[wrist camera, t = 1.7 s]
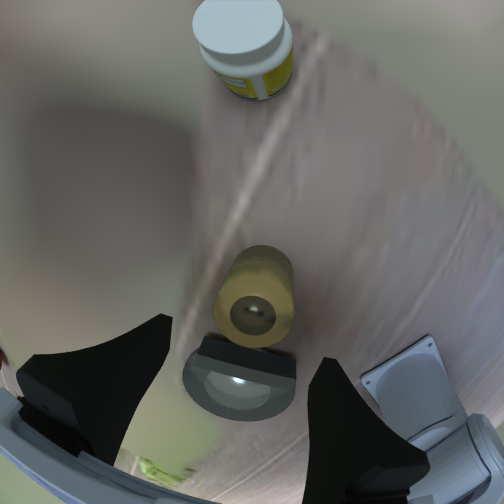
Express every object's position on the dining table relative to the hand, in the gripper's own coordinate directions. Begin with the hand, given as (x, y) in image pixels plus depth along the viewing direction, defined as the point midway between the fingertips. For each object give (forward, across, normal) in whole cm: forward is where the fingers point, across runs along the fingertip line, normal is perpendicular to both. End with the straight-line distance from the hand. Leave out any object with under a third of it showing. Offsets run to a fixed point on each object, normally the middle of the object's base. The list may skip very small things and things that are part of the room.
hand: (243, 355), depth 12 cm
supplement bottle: (+10, +4, -14) cm, 18 cm away
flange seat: (+10, -1, +12) cm, 15 cm away
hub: (+10, 0, 0) cm, 10 cm away
